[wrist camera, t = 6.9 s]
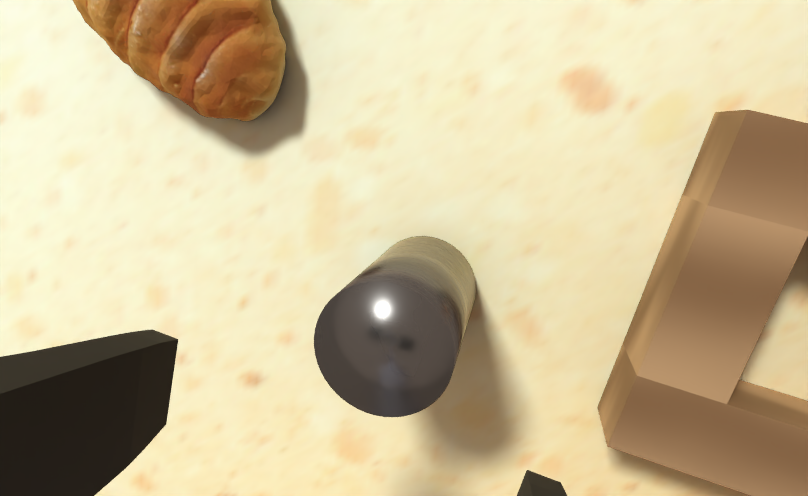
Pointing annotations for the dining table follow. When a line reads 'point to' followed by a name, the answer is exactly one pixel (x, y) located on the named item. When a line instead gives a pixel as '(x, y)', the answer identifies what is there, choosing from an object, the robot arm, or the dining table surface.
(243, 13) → the pastry
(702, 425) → the socket block
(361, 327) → the dark grey short cylinder
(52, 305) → the dining table surface
